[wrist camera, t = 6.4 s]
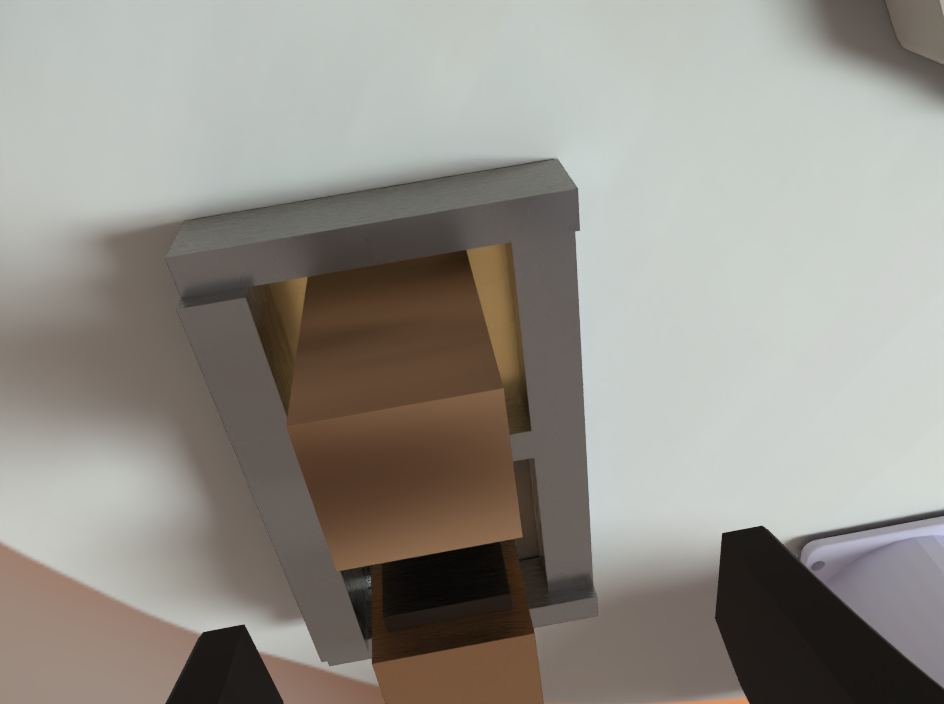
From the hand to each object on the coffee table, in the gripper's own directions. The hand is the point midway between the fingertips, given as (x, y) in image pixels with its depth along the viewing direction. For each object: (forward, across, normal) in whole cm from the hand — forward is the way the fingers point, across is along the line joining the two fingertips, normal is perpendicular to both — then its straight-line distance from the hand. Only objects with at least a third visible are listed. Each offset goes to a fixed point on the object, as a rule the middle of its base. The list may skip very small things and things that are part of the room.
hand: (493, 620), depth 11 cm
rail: (+10, +1, +4) cm, 11 cm away
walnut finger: (+10, +1, 0) cm, 10 cm away
